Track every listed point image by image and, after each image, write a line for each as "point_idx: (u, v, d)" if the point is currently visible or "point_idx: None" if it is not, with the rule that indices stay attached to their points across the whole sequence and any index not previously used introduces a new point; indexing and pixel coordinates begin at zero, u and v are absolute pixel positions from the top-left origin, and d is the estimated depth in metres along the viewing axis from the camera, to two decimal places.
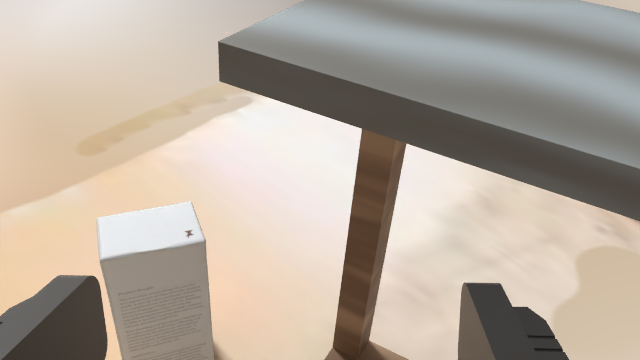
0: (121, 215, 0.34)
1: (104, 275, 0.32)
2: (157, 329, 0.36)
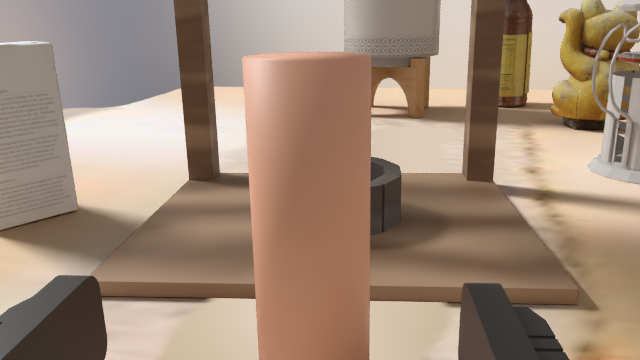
0: None
1: None
2: (14, 148, 0.37)
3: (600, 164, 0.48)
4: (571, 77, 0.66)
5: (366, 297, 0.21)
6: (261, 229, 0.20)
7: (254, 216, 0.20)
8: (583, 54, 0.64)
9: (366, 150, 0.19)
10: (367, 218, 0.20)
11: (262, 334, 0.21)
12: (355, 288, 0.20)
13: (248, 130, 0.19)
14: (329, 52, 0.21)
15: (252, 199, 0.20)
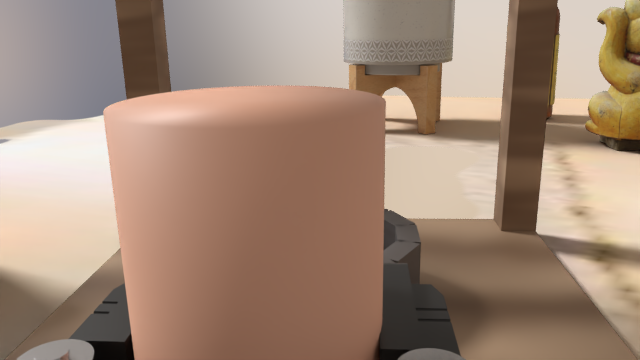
0: None
1: None
2: None
3: None
4: (612, 88, 0.56)
5: None
6: None
7: None
8: (627, 61, 0.54)
9: (374, 303, 0.09)
10: None
11: None
12: None
13: (122, 261, 0.09)
14: (300, 88, 0.11)
15: None
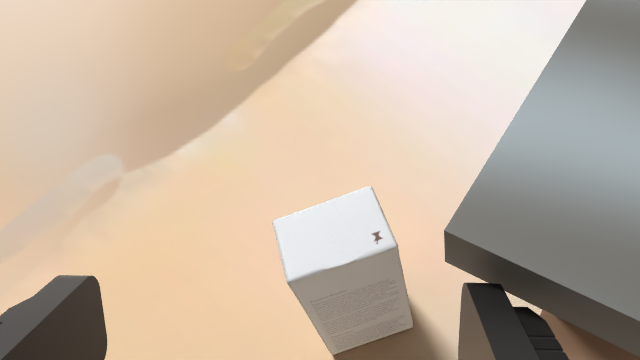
0: (297, 215, 0.31)
1: (294, 292, 0.29)
2: (353, 316, 0.34)
3: None
4: None
5: None
6: None
7: None
8: None
9: None
10: None
11: None
12: None
13: None
14: None
15: None
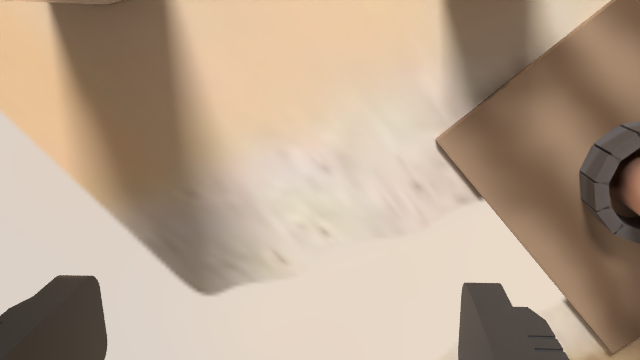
0: None
1: None
2: None
3: None
4: None
5: None
6: None
7: None
8: None
9: None
10: None
11: (620, 176, 0.41)
12: None
13: None
14: None
15: None
